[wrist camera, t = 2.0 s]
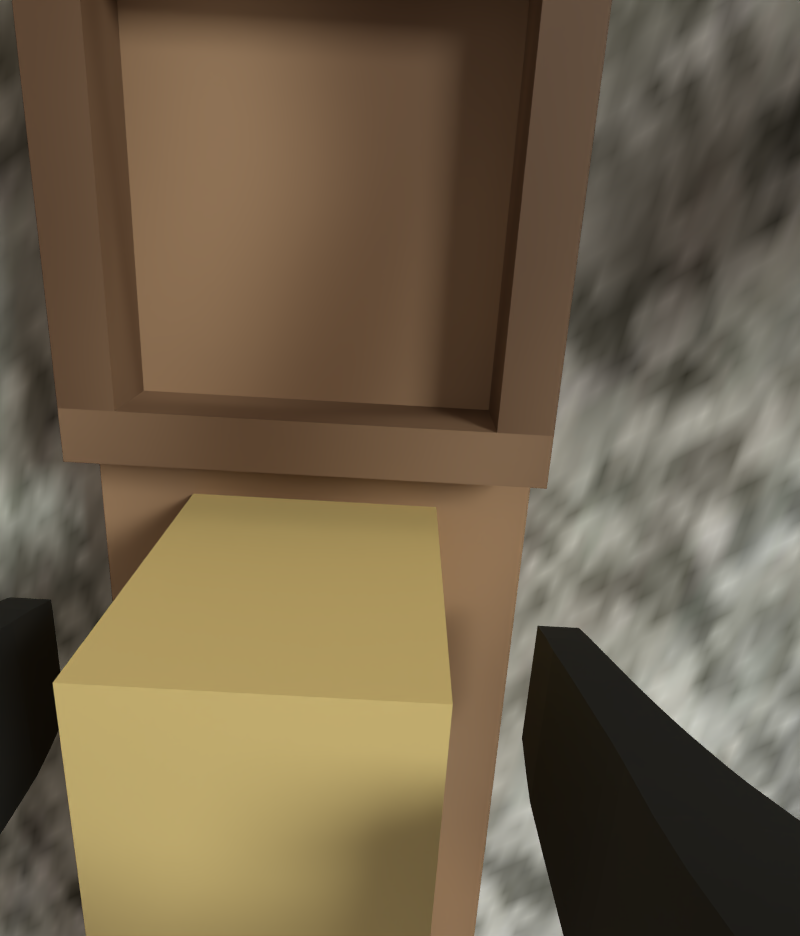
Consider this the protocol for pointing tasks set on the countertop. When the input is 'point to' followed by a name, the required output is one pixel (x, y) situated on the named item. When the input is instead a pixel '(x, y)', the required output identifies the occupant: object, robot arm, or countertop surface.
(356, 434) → the brown wooden tray
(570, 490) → the countertop surface
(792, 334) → the countertop surface
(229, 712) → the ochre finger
